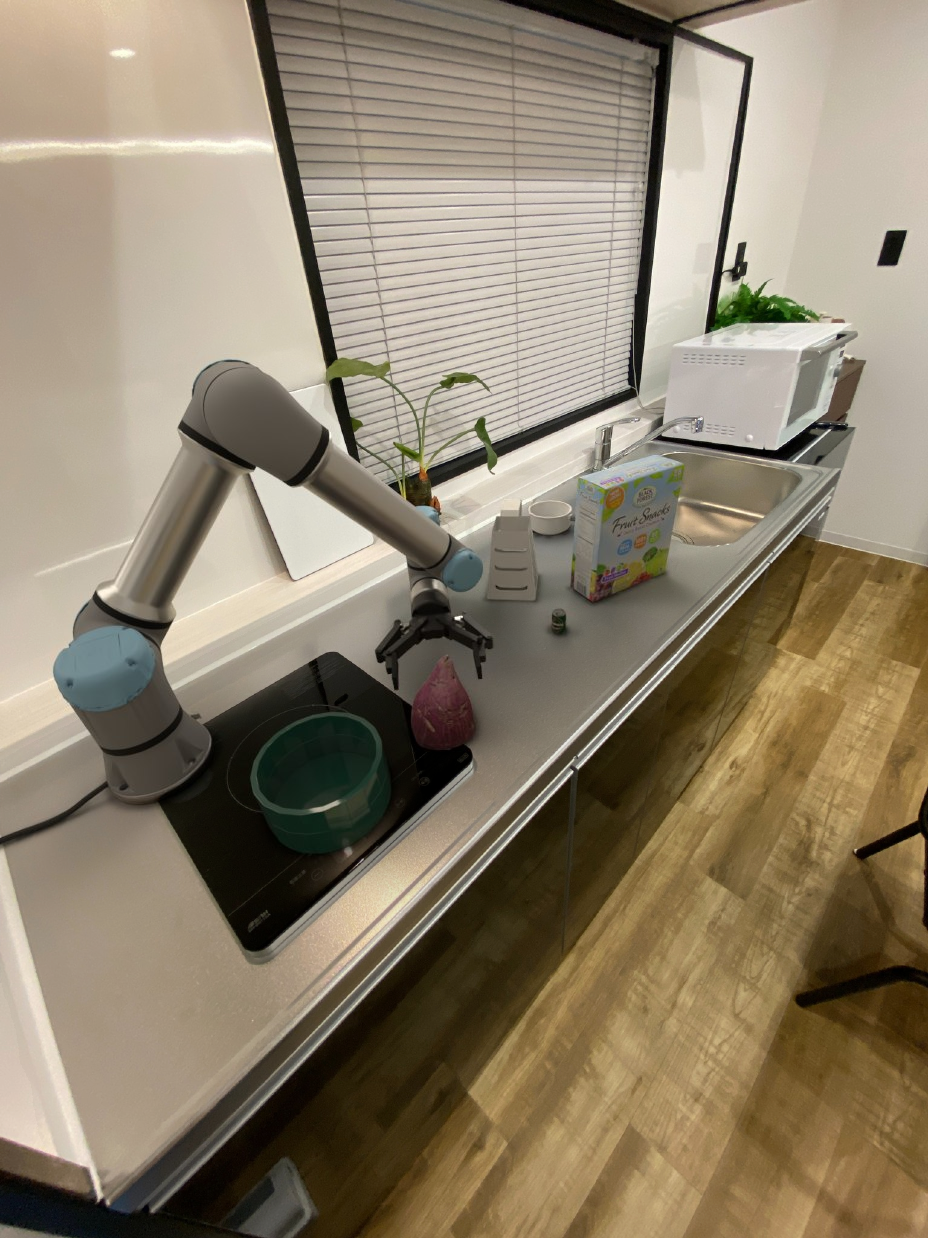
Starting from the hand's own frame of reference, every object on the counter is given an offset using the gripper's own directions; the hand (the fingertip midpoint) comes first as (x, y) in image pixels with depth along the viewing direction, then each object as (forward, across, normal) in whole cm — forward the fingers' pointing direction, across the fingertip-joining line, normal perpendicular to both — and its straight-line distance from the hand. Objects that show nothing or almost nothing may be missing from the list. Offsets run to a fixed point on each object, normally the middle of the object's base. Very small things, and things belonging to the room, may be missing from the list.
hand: (437, 678), depth 85 cm
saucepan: (-62, -37, -8) cm, 73 cm away
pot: (+14, +17, -8) cm, 24 cm away
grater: (-37, -19, -8) cm, 43 cm away
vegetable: (+3, 0, -8) cm, 9 cm away
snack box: (-34, -42, -8) cm, 55 cm away
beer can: (-19, -25, -8) cm, 32 cm away
